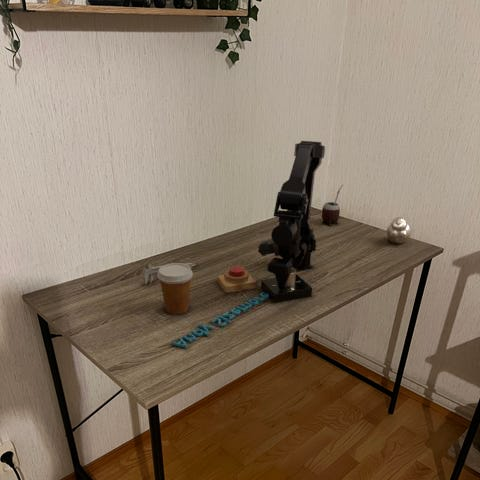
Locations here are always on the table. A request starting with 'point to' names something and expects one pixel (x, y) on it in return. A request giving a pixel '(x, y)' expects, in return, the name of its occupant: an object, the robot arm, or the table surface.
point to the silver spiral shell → (399, 230)
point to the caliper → (155, 272)
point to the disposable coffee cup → (175, 286)
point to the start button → (236, 271)
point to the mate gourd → (331, 211)
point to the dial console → (286, 290)
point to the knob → (291, 279)
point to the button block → (236, 282)
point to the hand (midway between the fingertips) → (286, 283)
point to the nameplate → (205, 327)
